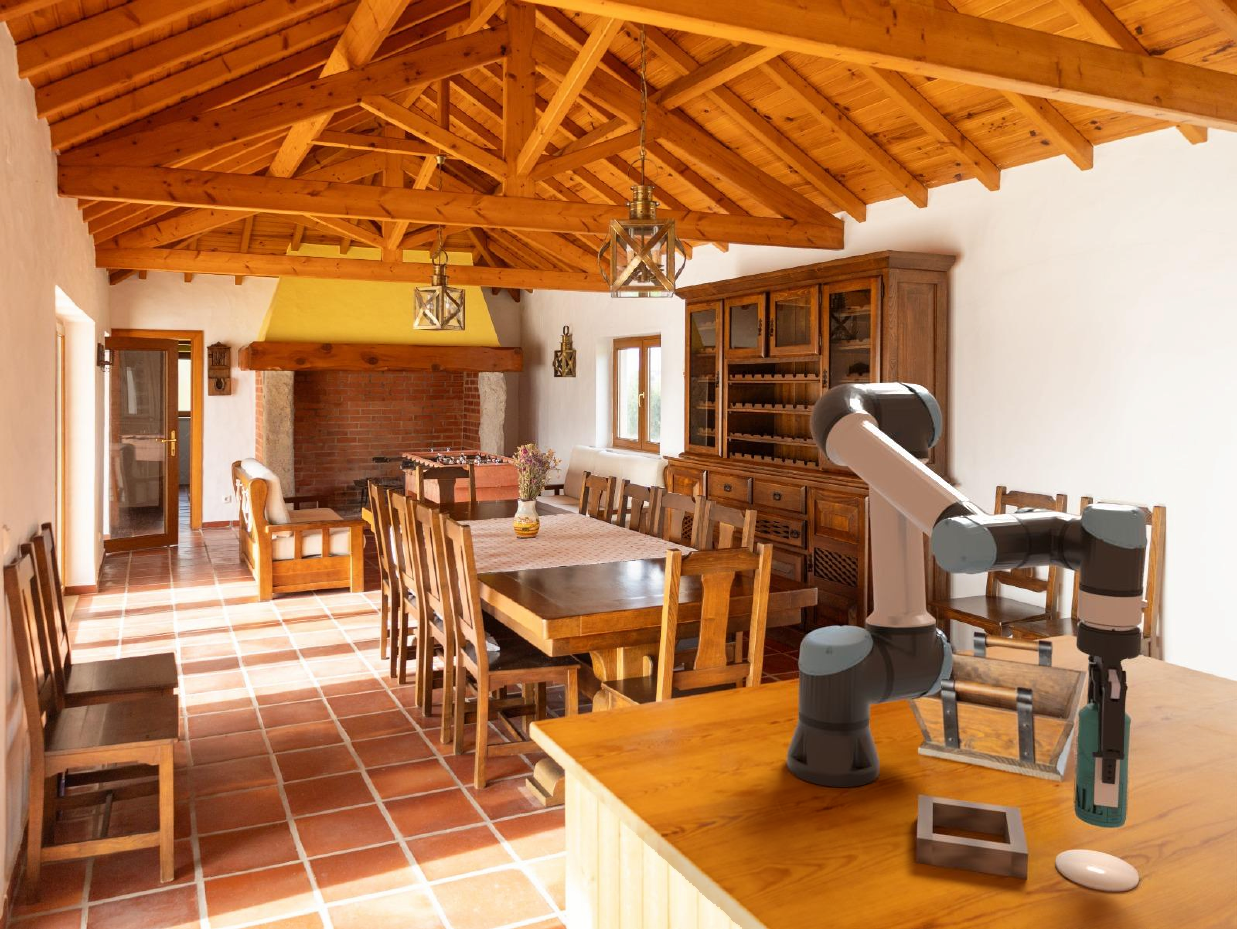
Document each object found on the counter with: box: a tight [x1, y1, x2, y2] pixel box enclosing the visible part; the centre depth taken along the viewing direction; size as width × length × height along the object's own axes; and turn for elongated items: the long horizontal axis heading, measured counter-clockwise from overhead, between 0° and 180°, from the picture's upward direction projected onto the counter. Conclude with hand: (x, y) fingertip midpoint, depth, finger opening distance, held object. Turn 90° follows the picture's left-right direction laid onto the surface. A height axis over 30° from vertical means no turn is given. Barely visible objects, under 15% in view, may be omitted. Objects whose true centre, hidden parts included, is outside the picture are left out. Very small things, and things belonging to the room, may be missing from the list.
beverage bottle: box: [1073, 681, 1132, 829], centre depth 128 cm, size 6×7×20 cm
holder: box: [915, 794, 1029, 880], centre depth 136 cm, size 14×14×4 cm
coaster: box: [1055, 849, 1140, 893], centre depth 130 cm, size 10×10×1 cm
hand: (1101, 793), depth 129 cm, fingers closed on beverage bottle, 6 cm apart
